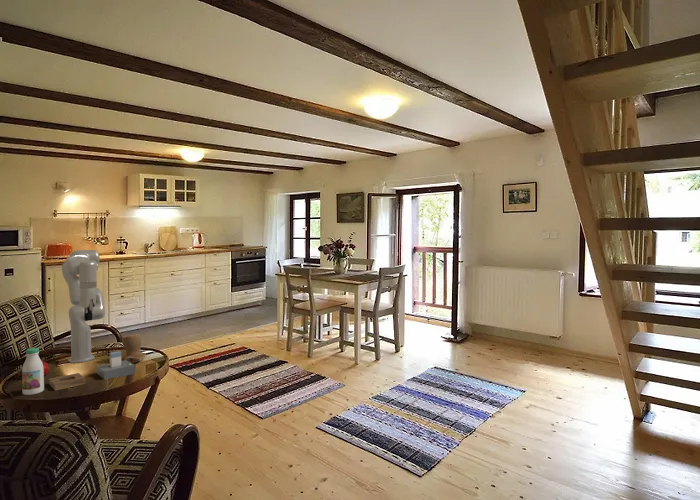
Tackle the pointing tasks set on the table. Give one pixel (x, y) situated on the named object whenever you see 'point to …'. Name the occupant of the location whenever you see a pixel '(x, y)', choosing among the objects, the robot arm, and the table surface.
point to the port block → (116, 370)
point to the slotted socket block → (67, 381)
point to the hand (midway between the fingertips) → (88, 320)
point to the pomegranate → (45, 367)
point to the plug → (115, 359)
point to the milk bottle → (32, 373)
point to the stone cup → (133, 347)
